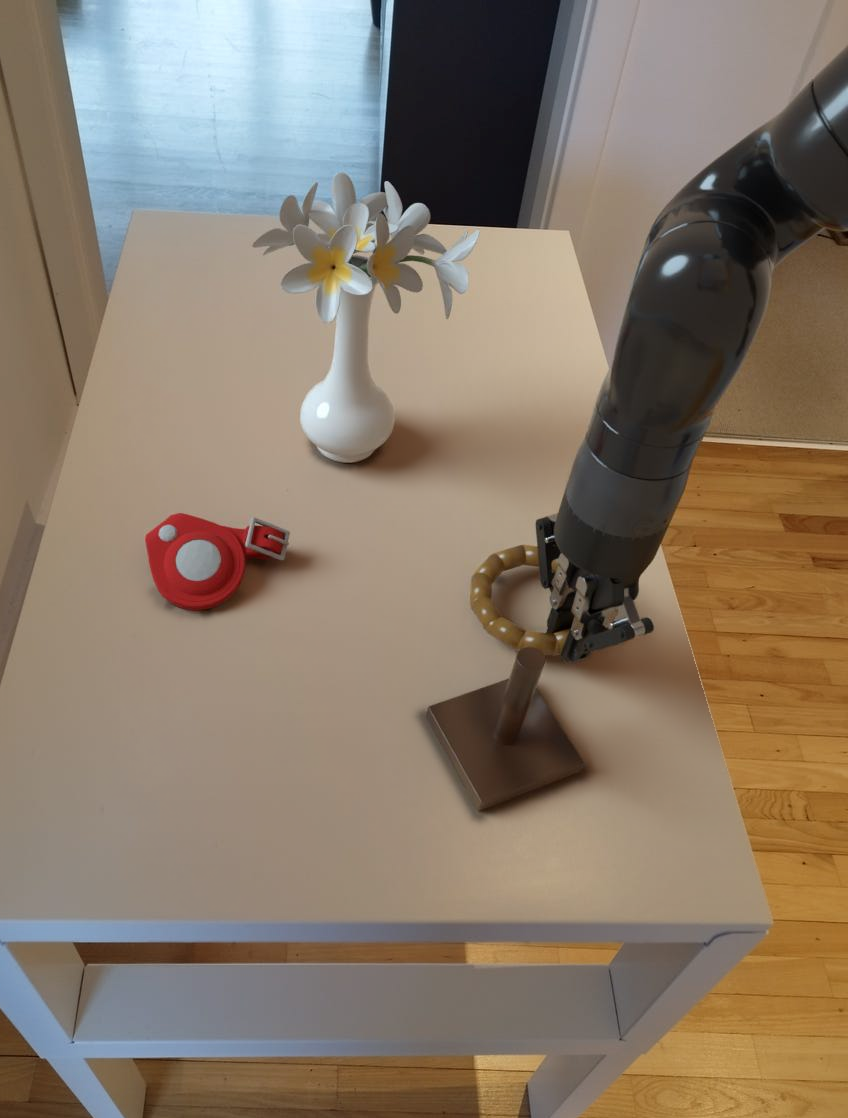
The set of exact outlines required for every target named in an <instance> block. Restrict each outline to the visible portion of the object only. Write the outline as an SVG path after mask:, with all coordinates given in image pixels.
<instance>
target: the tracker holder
mask: <svg viewBox="0 0 848 1118" xmlns="http://www.w3.org/2000/svg"><path fill="white" fill-rule="evenodd" d="M256 524H258V525H256ZM290 534H291V532H290V530H287V529H285V528H282V527H280V526H277V525H275V524H273V523H269V522H267V521H265V520H262V519H259V518H257V517H255V516H252V517H251V519H250V522H249V525H247V526H246V527H245V528H236V527H230V526H227V525H222V524H218V523H215V522H214V521H210V520H207V519H205V518H201V517H198V516H196V515H195V516H194V515H191V514H188V513H183V512H178V513H174V514H170V515H169V516H168V517H167V518H166V519H164V520H163V521H162V522H160V523H159V524H158V525H157V526H156V527H154V528H152V529H151V530H149V532H147V533H146V534H145V536H144V537H145V538H144V541H145V546H146V552H147V557H148V566H149V569H150V573H151V575H152V580H153V582H154V585H155V587H156V589H157V590H158V591H157V592H159V594H160V596H161V597H162V598H163V599H165V600H166V601H167V602H169V603H170V604H172V605H173V606H176V607H178V608H182V609H184V610H189V611H201V610H203V611H204V610H209V609H212V608H215V607H217V606H219V605H221V604H223V603H224V602H226V601H227V600H228V599H230V598H231V597H232V596H233V595H234V594H235V593H236V592H237V590H238V588H239V586H240V585H241V583H242V582H243V581H242V580H243V578H244V575H245V571H246V559H254V560H256V559H260V560H267V559H268V560H273V559H276V560H279V561H284V560H285V558H286V552H287V549H288V546H289V545H290V542H289V539H290Z"/></svg>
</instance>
